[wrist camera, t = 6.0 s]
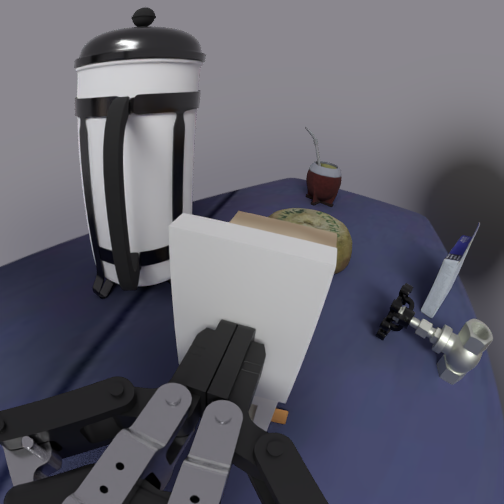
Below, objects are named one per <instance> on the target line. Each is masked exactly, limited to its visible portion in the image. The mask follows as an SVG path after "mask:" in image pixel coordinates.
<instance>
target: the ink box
mask: <svg viewBox="0 0 504 504" xmlns="http://www.w3.org/2000/svg"><path fill="white" fill-rule="evenodd" d="M479 225H480V223H478V227H477V230H478V228H479ZM477 230H476V232H477ZM476 232H475V234H476ZM475 234H474V235H473V237H468V236H464V235H462V236H461V238H460V239H459V240H458V242H457V243H456V244H455V246H454V247H453V249H452V250H451V252H450V253H449V254H448V255H447V257H446V258H445V259H444V261H443V263H442V266H441V268H440V270H439V272H438V275H437V277H436V279H435V282H434V284H433V286H432V288H431V290H430V292H429V294H428V296H427V298H426V301H425V302H424V304H423V306H422V308H421V312H422V313H424V314H425V315H427V316H428V317H430V318H433V316H434V315H435V313H436V312H437V310H438V309H439V307H440V305H441V304H442V302H443V301H444V299H445V297H446V296H447V294H448V292H449V291H450V289H451V287H452V285H453V283H454V281H455V279H456V277H457V274H458V272H459V270H460V268H461V266H462V263H463V261H464V259H465V256H466V254H467V252H468V249H469V247H470V245H471V243H472V240H473V239H474V236H475Z"/></svg>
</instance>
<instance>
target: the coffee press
mask: <svg viewBox="0 0 504 504" xmlns="http://www.w3.org/2000/svg"><path fill="white" fill-rule="evenodd" d="M155 18H156V16H155V13H154V11H153V10H151V9H150V8H141V9H139V10H137V11H136V12H135V13H134V15H133V17H132V20H133V23H134V24H135V25H136V26H137V27H134V28H124V29H118V30H114V31H109V32H106V33H103V34H101V35H98V36H96V37H95V38H93V39H92V40H90V41H89V42H88V43H87V44H86V45H85V46H84V47H83V49H82V51H81V54H80V57H79V59H76V60H75V64H74V68H76V72H77V73H78V88H77V97H76V98H75V115H76V116H77V117H78V142H79V158H80V170H81V180H82V189H83V197H84V205H85V212H86V218H87V224H88V230H89V236H90V241H91V247H92V251H93V256H94V260H95V264H96V267H97V276H96V280H95V283H94V285H93V292H94V293H95V294H96V295H97V296H99V297H100V298H101V299H104V298H106V297H107V296H108V295H109V293H110V291H111V289H112V287H113V285H114V284H115V283H118V284H120V287H121V288H122V290H124V291H126V290H136V289H137V287H138V286H149V285H155V284H158V283H162V282H164V281H168V282H169V283H170V285H171V272H170V254H169V229H168V226H169V225H170V224H171V223H172V222H173V221H174V220H176V219H177V218H178V217H179V216H180V215H181V214H182V213H187V214H192V192H193V191H192V190H193V165H194V144H195V127H196V126H195V125H196V112H197V108H199V103H200V90H198V87H199V76H200V68H201V66H202V65H203V62H205V56H206V55H205V54H204V53H201V47H200V44H199V42H198V41H197V39H195V37H193V36H192V35H190V34H188V33H186V32H184V31H181V30H177V29H172V28H165V27H147V26H149V25H150V24H152V22H153V21H154V19H155ZM104 276H105V277H106V278H107V280H106V281H105V283H104V285H103V282H104ZM102 285H103V287H102ZM101 288H102V289H101Z"/></svg>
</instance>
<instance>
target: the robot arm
mask: <svg viewBox="0 0 504 504" xmlns="http://www.w3.org/2000/svg"><path fill="white" fill-rule="evenodd" d="M255 333H256V329H254V328H251V327H247V326H244V325H240V324H239V325H238V324H236V323H233V322H229V321H226V320H223V319H222V320H221V321H220V322H219V324H218V326H217V328H216V330H213V329H210V328H207V327H206V328H205V329H204V330H202V331H201V332H200V333H198V334H197V335H196V337H195V339H194V341H193V342H192V345H191V346H190V348H189V349H188V351H187V353H186V354H185V356H184V358H183V360H182V361H181V363H180V365H179V367H178V368H177V370H176V372H175V374H174V375H173V377H172V379H171V380H170V381H169V382H168V383H167V384H164V385H162V386H161V387H160V388H155V389H149V388H140V387H134V386H133V384H132V383H131V382H130V381H129V380H128V379H126V378H124V377H112V378H109V379H106V380H103V381H100V382H97V383H94V384H91V385H88V386H85V387H82V388H79V389H76V390H72V391H69V392H66V393H63V394H60V395H56V396H53V397H50V398H46V399H43V400H40V401H36V402H33V403H29V404H25V405H22V406H18V407H14V408H11V409H7V410H3V411H0V444H1V445H2V446H3V448H4V452H5V456H6V460H7V464H8V468H9V472H10V476H11V479H12V482H13V486H14V487H12V488H11V489H10V490H9V491H8V492H7V494H6V496H5V499H4V504H221V502H222V498H223V495H224V491H225V487H226V484H227V480H228V477H229V473H230V469H231V466H232V464H234V465H235V466H237V467H238V468H240V469H241V470H243V471H245V472H246V473H247V474H248V476H249V478H250V481H251V483H252V485H253V487H254V489H255V491H256V493H257V495H258V497H259V499H260V501H261V503H262V504H328V502H327V501H326V499H325V497H324V496H323V494H322V492H321V491H320V489H319V487H318V486H317V484H316V482H315V480H314V479H313V477H312V475H311V474H310V472H309V470H308V468H307V467H306V465H305V463H304V462H303V460H302V458H301V456H300V454H299V453H298V451H297V449H296V447H295V446H294V444H293V442H292V441H291V440H290V439H289V438H288V437H287V436H285V435H283V434H280V433H268V432H266V431H265V430H263V429H261V428H260V427H258V426H257V425H256V424H255V423H254V422H253V421H252V420H251V418H250V416H249V409H250V406H251V404H252V401H253V398H254V395H255V392H256V389H257V386H258V383H259V380H260V377H261V374H262V370H263V366H264V361H265V357H266V352H265V346H264V344H261V343H258V342H254V339H255ZM200 417H201V418H202V419H201V422H200V425H199V427H198V430H197V433H196V436H195V439H194V441H193V444H192V447H191V450H190V453H189V455H188V457H187V458H186V459H185V460H184V462H183V464H182V466H181V469H180V471H179V474H178V477H177V480H176V482H175V485H174V488H173V490H172V492H166V491H163V490H164V488H165V487H166V485H167V483H168V482H169V480H170V478H171V476H172V473H173V468H174V466H175V464H176V462H177V461H178V459H179V457H180V456H181V454H182V452H183V451H184V449H185V447H186V445H187V444H188V442H189V440H190V438H191V437H192V435H193V433H194V431H195V427H196V424H197V422H198V420H199V418H200ZM108 444H110V445H109V446H108V448H107V449H106V450H105V452H104V453H103V455H102V456H101V457H100V459H99V460H98V461H97V463H95V464H89V465H85V466H82V467H79V468H76V469H73V470H70V471H67V472H64V473H60V474H57V475H54V476H50V477H48V476H49V475H50V474H52V473H54V472H56V471H58V470H59V469H60V468H61V464H62V459H63V458H66V457H70V456H73V455H77V454H80V453H83V452H87V451H90V450H93V449H96V448H99V447H102V446H105V445H108Z"/></svg>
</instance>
